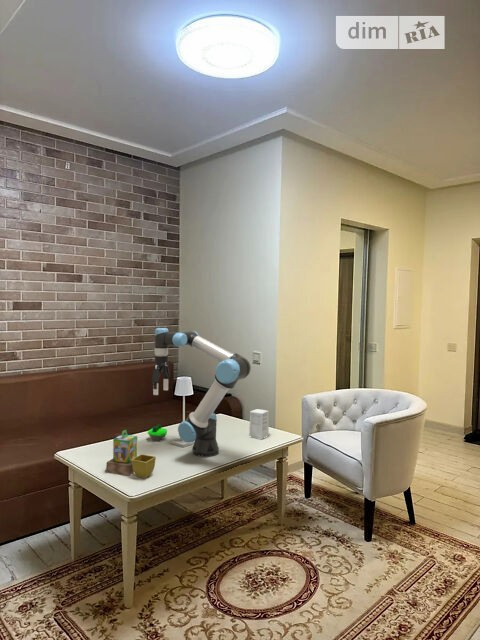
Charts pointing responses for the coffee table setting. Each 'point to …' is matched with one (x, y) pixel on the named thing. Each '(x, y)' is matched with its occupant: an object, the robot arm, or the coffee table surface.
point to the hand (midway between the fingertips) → (160, 392)
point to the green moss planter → (157, 432)
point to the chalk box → (124, 448)
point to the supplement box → (259, 423)
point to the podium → (119, 468)
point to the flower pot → (143, 465)
